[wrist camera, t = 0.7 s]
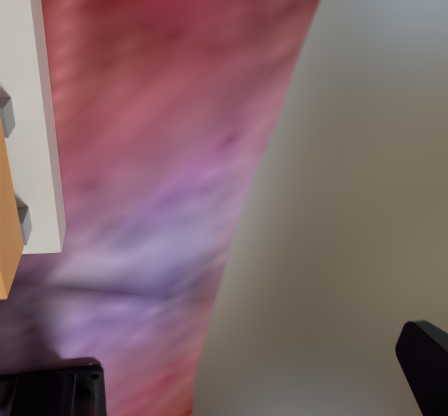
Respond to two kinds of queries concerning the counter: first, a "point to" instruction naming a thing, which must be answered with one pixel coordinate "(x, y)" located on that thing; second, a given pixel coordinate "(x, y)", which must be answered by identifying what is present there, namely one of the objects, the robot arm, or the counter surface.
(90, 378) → the robot arm
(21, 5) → the console
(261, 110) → the counter surface
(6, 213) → the fader orange
